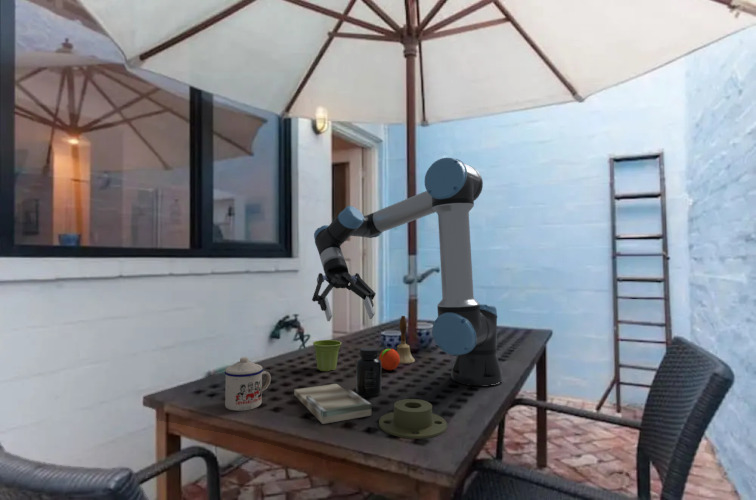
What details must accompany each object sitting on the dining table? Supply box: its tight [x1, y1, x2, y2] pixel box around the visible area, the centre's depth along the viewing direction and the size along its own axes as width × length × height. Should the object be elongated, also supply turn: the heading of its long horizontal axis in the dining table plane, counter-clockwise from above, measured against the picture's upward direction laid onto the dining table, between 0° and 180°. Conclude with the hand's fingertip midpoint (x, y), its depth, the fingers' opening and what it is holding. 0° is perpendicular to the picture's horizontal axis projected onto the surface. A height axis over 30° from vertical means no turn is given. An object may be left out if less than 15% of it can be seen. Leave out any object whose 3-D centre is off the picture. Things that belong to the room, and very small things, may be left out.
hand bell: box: [396, 315, 416, 365], centre depth 154 cm, size 8×8×16 cm
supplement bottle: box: [355, 347, 382, 398], centre depth 117 cm, size 7×7×12 cm
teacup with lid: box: [224, 356, 272, 412], centre depth 108 cm, size 12×9×12 cm
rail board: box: [293, 383, 372, 425], centre depth 108 cm, size 22×12×3 cm, turn 27°
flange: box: [378, 398, 448, 440], centre depth 96 cm, size 5×15×15 cm
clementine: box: [378, 347, 400, 371], centre depth 141 cm, size 8×7×7 cm
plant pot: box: [312, 339, 342, 372], centre depth 142 cm, size 9×9×9 cm
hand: (351, 317), depth 127 cm, fingers open, 13 cm apart
